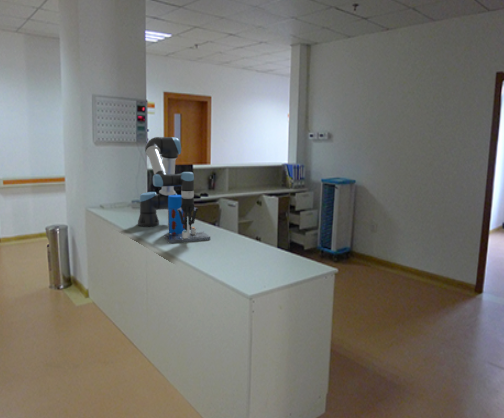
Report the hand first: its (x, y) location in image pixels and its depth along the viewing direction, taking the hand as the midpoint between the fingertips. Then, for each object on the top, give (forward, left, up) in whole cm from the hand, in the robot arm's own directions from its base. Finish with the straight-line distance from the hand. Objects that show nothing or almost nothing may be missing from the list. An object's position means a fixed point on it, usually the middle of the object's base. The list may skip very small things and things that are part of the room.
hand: (187, 235), depth 249 cm
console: (-5, +1, -4) cm, 6 cm away
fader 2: (-8, +6, -2) cm, 10 cm away
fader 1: (0, -2, -2) cm, 3 cm away
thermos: (-24, -1, -4) cm, 24 cm away
